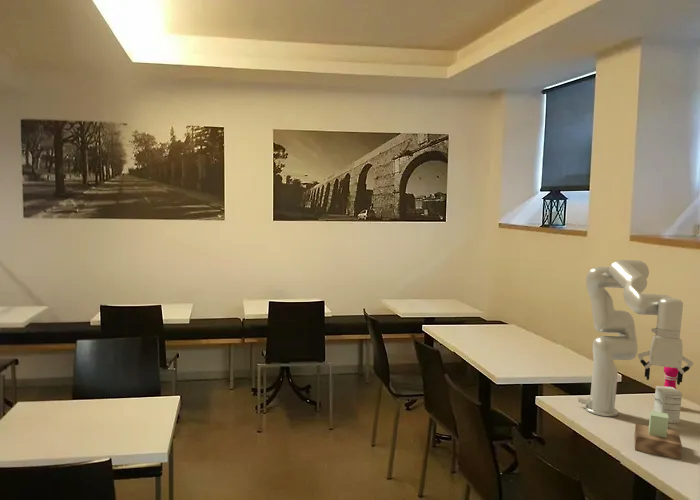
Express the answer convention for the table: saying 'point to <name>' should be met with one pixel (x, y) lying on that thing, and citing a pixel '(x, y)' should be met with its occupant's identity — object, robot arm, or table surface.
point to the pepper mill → (670, 377)
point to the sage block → (658, 424)
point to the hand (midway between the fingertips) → (662, 381)
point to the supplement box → (668, 402)
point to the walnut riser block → (657, 442)
